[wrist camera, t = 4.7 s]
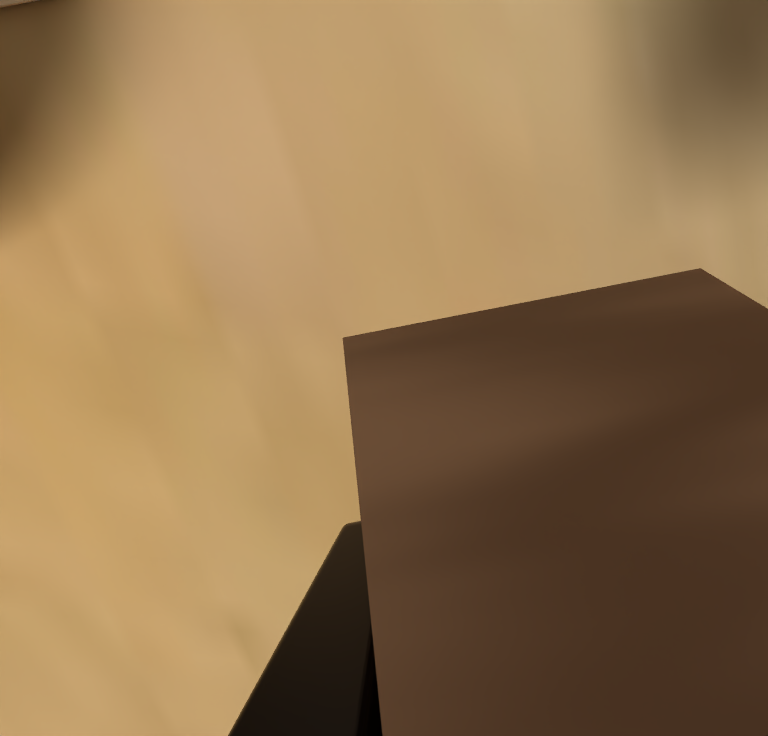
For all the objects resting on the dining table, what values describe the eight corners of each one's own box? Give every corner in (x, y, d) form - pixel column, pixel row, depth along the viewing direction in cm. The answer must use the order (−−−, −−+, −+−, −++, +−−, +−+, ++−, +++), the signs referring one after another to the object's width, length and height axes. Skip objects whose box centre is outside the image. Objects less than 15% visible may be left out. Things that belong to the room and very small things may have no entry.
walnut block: (700, 268, 9) (1295, 628, 4) (695, 552, 11) (1076, 1070, 5) (342, 337, 9) (390, 810, 3) (401, 610, 11) (490, 1190, 5)
